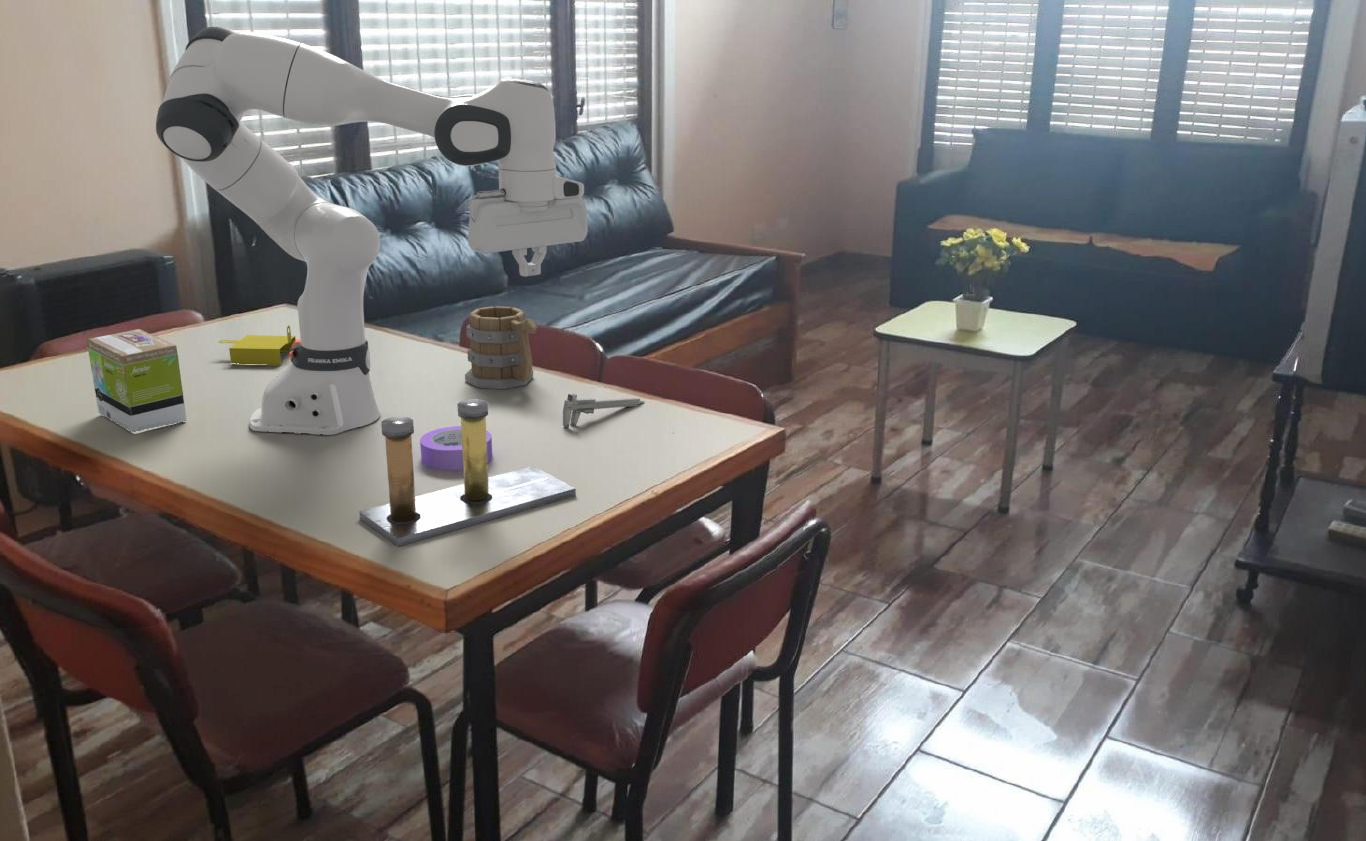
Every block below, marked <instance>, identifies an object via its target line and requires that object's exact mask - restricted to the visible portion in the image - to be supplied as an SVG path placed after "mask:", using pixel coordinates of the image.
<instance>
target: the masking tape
mask: <svg viewBox="0 0 1366 841" xmlns="http://www.w3.org/2000/svg"><path fill="white" fill-rule="evenodd" d="M486 437H487V461H488V463H490V462H491V460H492V459H493V440H492V434H491V432H490V431H488V430H486ZM419 444H420V446H419V447H420V454H421V456H420V457H421V462H422V464H423V465H424V466H425V467H427V468H430V469H434V470H439V471H448V472H449V471H451V472H453V471H456V472H457V471H463V451H462V431H461V425H459V426H458V425H457V426H455V425H454V426H446V427H441V428H437V429H433V430H430V431H429V432H426V433H424V435H423V434H422V436H421V437H420V440H419Z"/></svg>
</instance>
